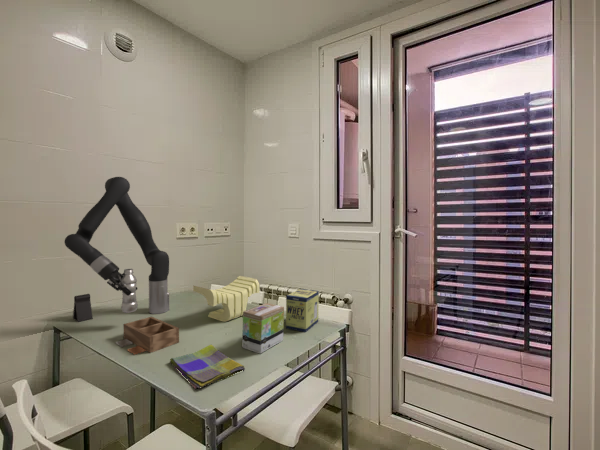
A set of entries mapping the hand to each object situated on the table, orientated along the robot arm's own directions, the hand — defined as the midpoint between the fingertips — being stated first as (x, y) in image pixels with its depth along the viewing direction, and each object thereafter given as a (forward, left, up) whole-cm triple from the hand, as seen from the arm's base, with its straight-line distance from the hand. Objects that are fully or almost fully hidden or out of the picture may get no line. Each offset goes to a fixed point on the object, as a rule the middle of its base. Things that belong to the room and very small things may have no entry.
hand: (133, 292), depth 138 cm
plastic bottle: (+1, -1, -10) cm, 10 cm away
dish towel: (+1, +58, -17) cm, 60 cm away
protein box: (-51, +61, -17) cm, 81 cm away
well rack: (+4, +21, -17) cm, 27 cm away
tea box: (-24, +61, -17) cm, 68 cm away
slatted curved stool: (-37, +23, -17) cm, 46 cm away
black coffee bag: (+10, -32, -17) cm, 38 cm away
